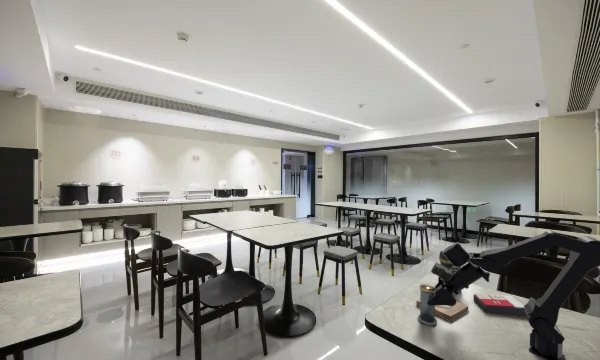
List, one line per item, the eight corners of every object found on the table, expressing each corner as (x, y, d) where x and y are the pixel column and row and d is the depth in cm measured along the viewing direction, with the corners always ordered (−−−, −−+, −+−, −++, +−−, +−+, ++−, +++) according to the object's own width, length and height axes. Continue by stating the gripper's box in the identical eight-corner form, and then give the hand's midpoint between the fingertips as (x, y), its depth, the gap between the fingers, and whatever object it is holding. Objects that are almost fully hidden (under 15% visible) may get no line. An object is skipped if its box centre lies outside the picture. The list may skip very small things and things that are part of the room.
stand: (468, 310, 104) (468, 305, 104) (450, 321, 96) (450, 315, 96) (434, 297, 116) (434, 292, 116) (416, 305, 108) (416, 300, 108)
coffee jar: (443, 292, 120) (443, 253, 120) (436, 285, 128) (436, 248, 128) (465, 293, 119) (465, 254, 119) (456, 286, 127) (456, 249, 127)
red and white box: (472, 292, 113) (511, 294, 110) (473, 302, 113) (512, 304, 110) (485, 304, 103) (528, 307, 99) (485, 315, 103) (529, 318, 99)
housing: (440, 323, 95) (441, 289, 95) (428, 328, 92) (429, 292, 92) (425, 315, 101) (426, 282, 101) (414, 319, 98) (414, 285, 98)
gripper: (447, 251, 101) (416, 272, 107) (445, 265, 85) (409, 289, 91) (470, 275, 97) (437, 296, 103) (473, 294, 81) (433, 318, 87)
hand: (429, 299), depth 96 cm, fingers open, 9 cm apart
